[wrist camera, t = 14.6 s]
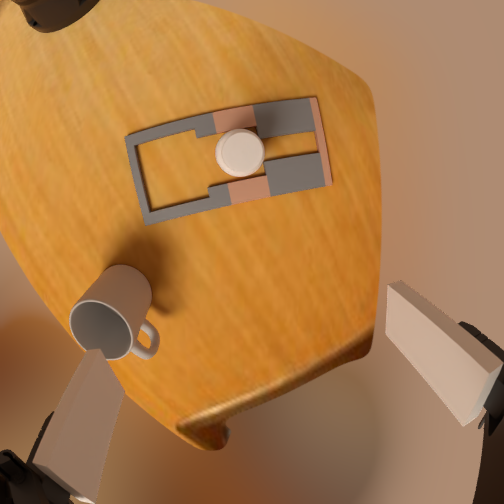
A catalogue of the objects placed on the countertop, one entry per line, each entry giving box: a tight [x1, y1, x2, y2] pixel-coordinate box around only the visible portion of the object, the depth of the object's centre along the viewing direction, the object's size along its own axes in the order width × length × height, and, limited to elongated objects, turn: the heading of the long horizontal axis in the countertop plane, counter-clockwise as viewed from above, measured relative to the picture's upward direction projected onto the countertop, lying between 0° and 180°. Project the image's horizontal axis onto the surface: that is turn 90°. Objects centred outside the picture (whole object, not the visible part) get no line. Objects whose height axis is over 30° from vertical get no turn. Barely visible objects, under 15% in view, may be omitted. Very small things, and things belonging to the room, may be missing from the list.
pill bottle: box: [215, 129, 265, 177], centre depth 30 cm, size 5×5×9 cm
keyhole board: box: [125, 98, 332, 226], centre depth 34 cm, size 12×25×1 cm, turn 101°
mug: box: [69, 265, 160, 360], centre depth 33 cm, size 12×8×11 cm
